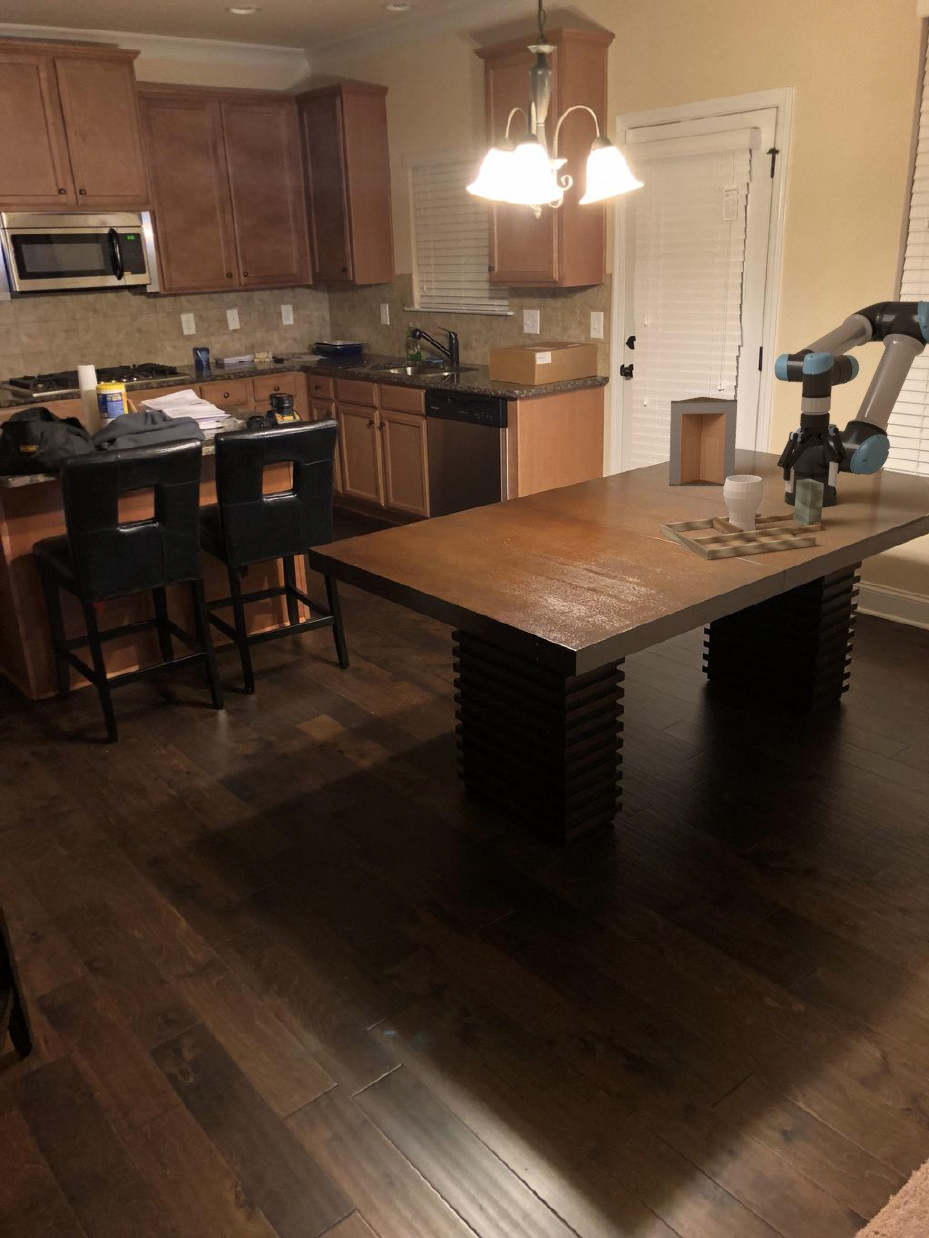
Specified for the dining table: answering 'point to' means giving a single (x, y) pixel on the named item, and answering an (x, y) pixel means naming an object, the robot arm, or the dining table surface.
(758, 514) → the lane rails
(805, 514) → the rail with green post
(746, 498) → the cup
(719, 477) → the cabinet
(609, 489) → the dining table surface
